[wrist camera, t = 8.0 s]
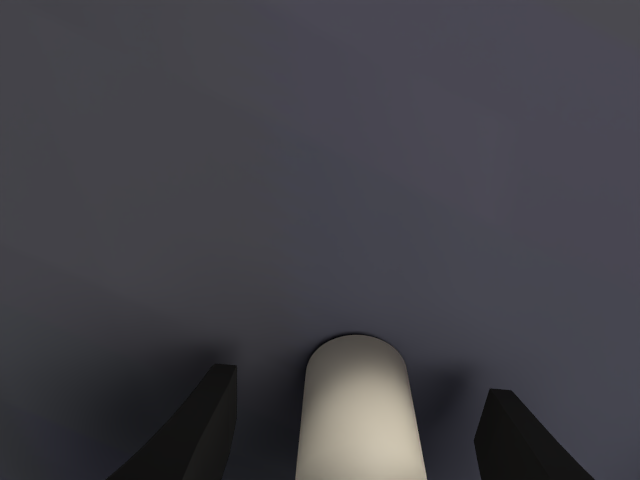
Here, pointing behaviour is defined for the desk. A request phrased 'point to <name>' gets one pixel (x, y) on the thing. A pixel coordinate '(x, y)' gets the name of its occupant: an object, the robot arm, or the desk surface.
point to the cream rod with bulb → (358, 414)
